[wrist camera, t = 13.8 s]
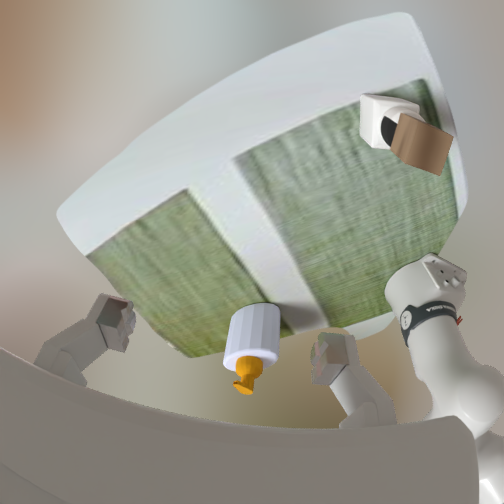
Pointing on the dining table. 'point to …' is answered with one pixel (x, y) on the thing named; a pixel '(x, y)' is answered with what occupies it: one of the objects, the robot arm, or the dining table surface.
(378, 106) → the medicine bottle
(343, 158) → the dining table surface
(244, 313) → the soap bottle
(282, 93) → the dining table surface
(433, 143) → the walnut cube
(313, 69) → the dining table surface
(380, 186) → the dining table surface
